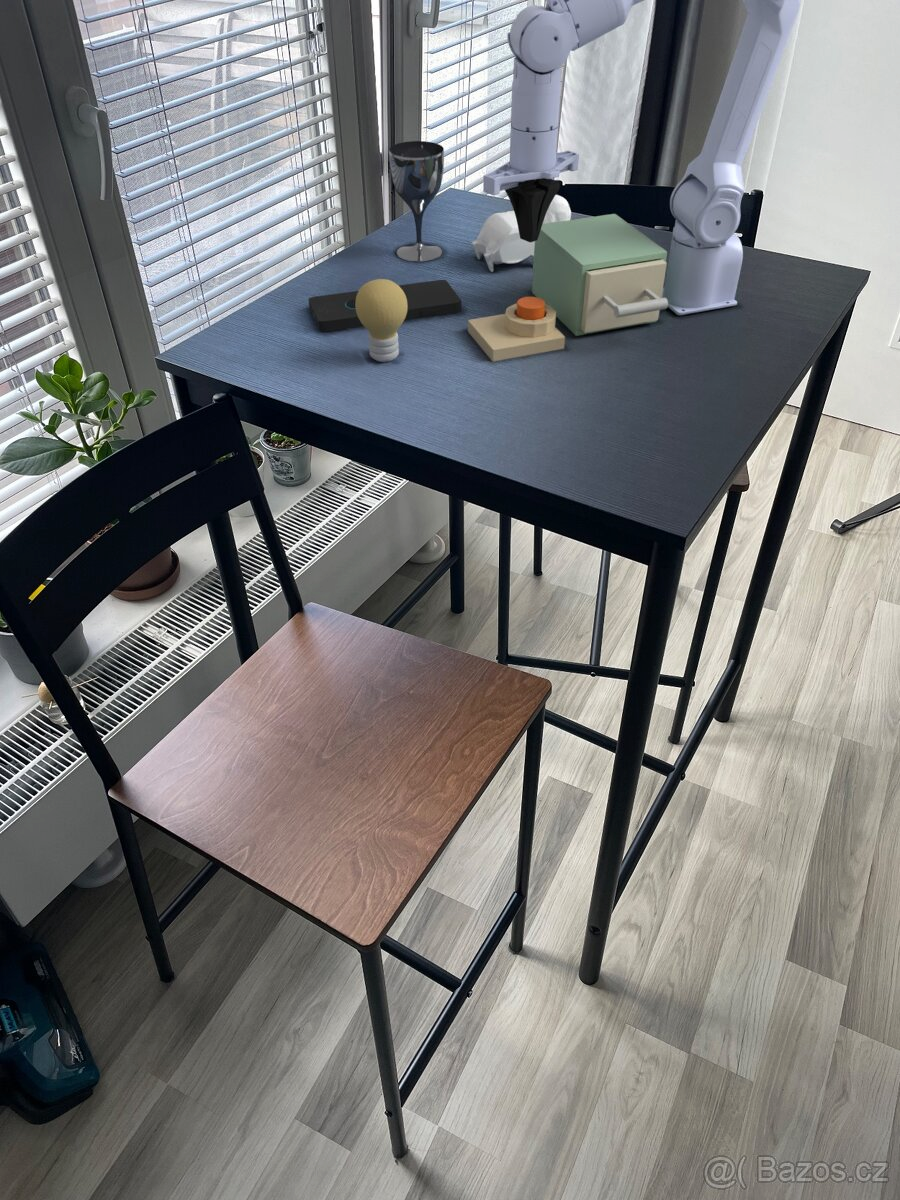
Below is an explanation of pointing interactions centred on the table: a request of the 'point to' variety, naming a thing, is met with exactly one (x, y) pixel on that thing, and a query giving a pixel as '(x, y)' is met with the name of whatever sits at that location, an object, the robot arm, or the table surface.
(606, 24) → the robot arm
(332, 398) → the table surface
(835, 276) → the table surface
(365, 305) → the light bulb
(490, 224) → the white pig figurine
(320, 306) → the smart home device
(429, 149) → the wine glass
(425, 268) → the table surface
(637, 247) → the green drawer cabinet
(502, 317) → the control block
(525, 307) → the button
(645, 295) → the cream pull-out drawer
